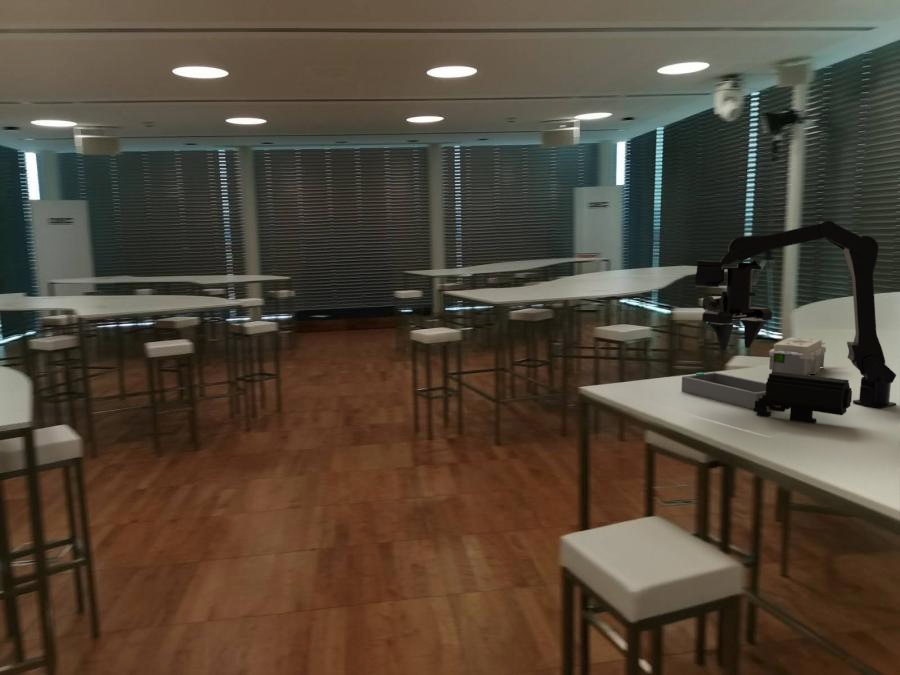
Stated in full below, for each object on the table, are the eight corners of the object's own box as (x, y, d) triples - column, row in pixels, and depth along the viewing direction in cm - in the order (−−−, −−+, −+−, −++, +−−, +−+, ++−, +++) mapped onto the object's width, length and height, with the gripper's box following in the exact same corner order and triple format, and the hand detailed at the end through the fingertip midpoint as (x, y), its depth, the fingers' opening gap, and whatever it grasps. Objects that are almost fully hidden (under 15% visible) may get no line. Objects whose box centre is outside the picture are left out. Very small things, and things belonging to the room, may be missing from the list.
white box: (760, 380, 180) (762, 346, 179) (788, 365, 201) (789, 335, 200) (805, 385, 172) (808, 349, 171) (829, 369, 193) (831, 338, 192)
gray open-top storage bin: (713, 386, 172) (714, 370, 172) (789, 404, 152) (790, 386, 151) (681, 391, 167) (682, 375, 167) (755, 410, 147) (756, 392, 146)
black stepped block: (759, 410, 146) (762, 369, 145) (851, 424, 134) (854, 379, 132) (749, 416, 142) (752, 373, 140) (843, 431, 129) (847, 384, 128)
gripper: (737, 284, 167) (734, 342, 169) (686, 287, 159) (683, 347, 161) (775, 286, 157) (771, 347, 159) (722, 289, 149) (719, 353, 151)
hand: (735, 349), depth 158 cm, fingers open, 8 cm apart
